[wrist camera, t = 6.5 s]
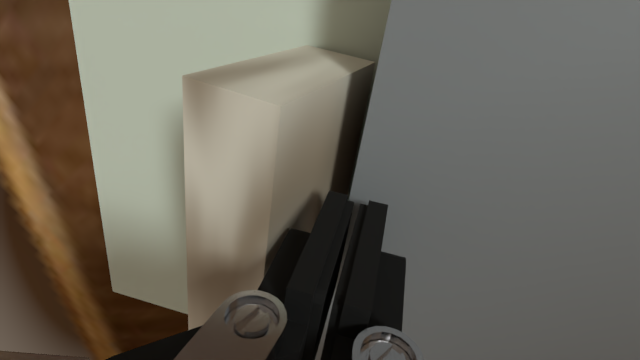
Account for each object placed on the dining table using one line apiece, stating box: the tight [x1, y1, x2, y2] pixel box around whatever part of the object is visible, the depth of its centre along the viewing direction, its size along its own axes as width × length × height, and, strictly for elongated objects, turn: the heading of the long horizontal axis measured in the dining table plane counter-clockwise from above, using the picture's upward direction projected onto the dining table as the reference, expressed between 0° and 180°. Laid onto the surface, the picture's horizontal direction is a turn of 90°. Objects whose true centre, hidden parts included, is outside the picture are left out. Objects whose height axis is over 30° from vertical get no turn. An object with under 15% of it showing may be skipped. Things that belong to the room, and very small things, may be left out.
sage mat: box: [69, 0, 391, 314], centre depth 16 cm, size 22×12×1 cm, turn 172°
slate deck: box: [315, 0, 640, 360], centre depth 13 cm, size 22×12×4 cm, turn 172°
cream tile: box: [182, 45, 375, 330], centre depth 13 cm, size 9×6×2 cm
